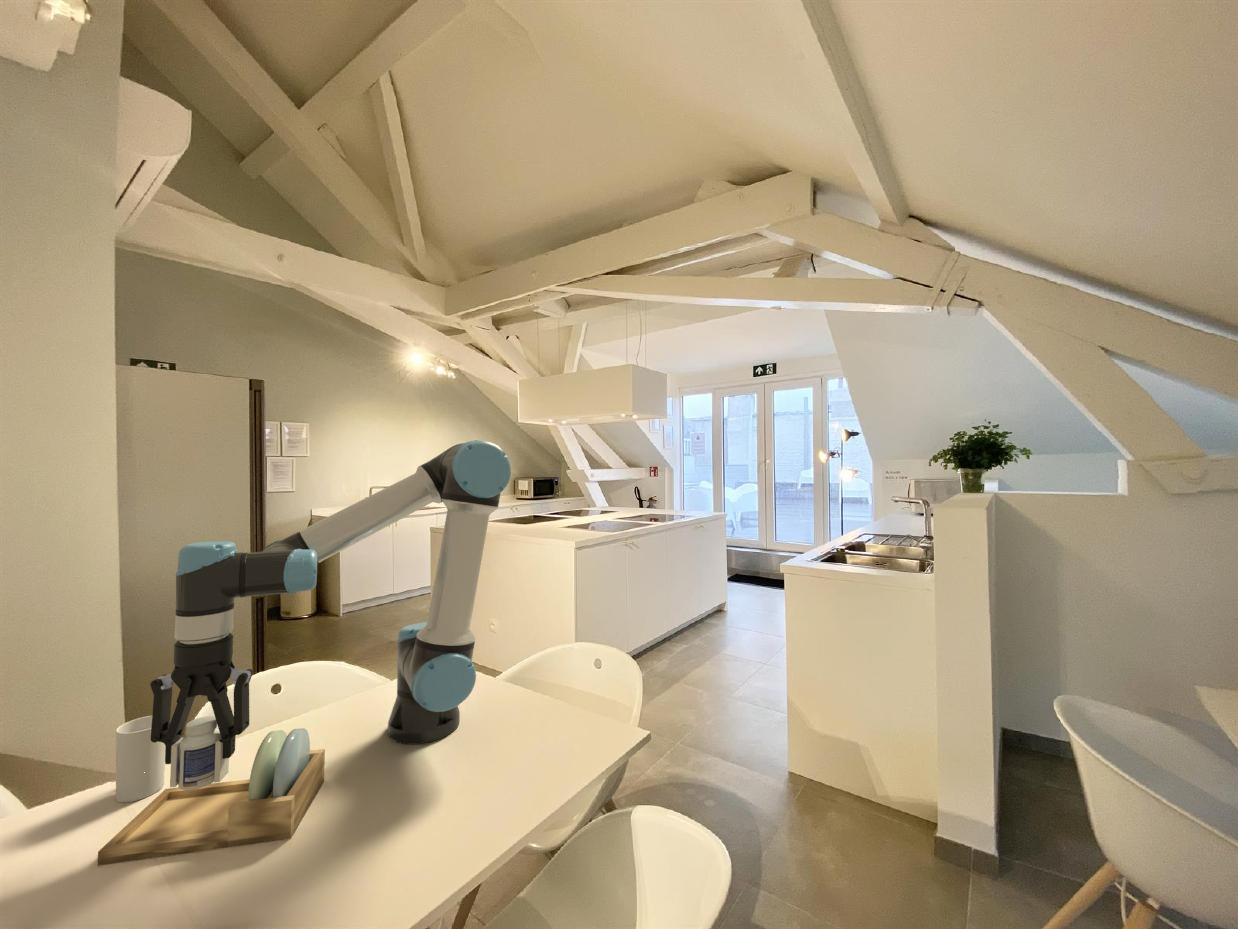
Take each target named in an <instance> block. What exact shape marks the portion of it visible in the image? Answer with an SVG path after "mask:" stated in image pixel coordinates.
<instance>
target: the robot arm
mask: <svg viewBox="0 0 1238 929" xmlns="http://www.w3.org/2000/svg"><path fill="white" fill-rule="evenodd" d="M511 475H512V465H511V461H510V460H509V457H508V455H507V454H506V452H505V451H504V450H503V449H502V448H501V447H500V446H498V445H497V444H495V443H493V442H490V441H486V440H477V439H476V440H470V441H466V442H463V443H458V444H455V445H453V446H450V447H449V448H448V449H446V450H444V451H442V452H441V453H440V454H438V455H437V456H435V457H433V458H432V459H430V460H428V461H426V462H425V463H423V464H421V465H418V466H417V468H416V471H415V473H413V474H411V475H408V476H407V477H405V478H403V479H401V480H399V481H397V482H394V483H393V484H391V485H388V486H387V487H385V488H382V489H381V490H379V491H377V492H375V493H372V494H371V495H369V496H367V497H365V498H363V499H361V500H359V501H357V502H355V503H353V504H351V505H349V506H347V507H345V508H343V509H341V510H339V511H337V512H335V513H333V514H331V515H328V516H327V517H325V518H323V519H321V520H319V521H317V522H315V523H313V524H311V525H309V526H306V527H305V528H303V529H301V530H299V531H297V532H296V533H294V534H293V533H292V534H291V535H289V536H287V537H285V538H283V539H280V540H276V541H274V542H272V543H270V544H268V545H266V546H265V547H264V548H263V549H262V550H261V551H253V552H242V551H241V552H239V551H238V549H237V545H236V543H234V542H233V541H229V540H227V541H225V540H224V541H222V540H221V541H219V540H216V541H199V542H193V543H187V544H186V545H183V546H182V547H181V548H180V549H179V551H178V556H177V557H178V559H177V568H176V573H175V576H176V577H175V578H176V579H175V581H176V582H175V619H174V636H173V638H174V639H175V640H177V641H176V642H175V643H174V645H173V664H174V668H173V670H172V671H171V673H169V674H162V675H160V676H159V677H157V678H155V679H153V680H152V681H151V682H150V684H149V685H150V688H151V691H152V694H153V702H152V703H153V704H152V714H151V716H152V727H151V741H152V742H154V743H155V742H162V743H164V744H165V765H170V778H169V780H170V781H169V788H177V786H178V775H179V746H180V742H181V740H182V739H183V738H184V737H185V736H183V735H184V734H185V732H184V731H185V728H186V724H187V720H188V719H189V716H190V712H191V708H192V706H193V704H194V701H195V698H196V697H197V696H203V697H205V696H206V698H207V701H208V702H209V703H210V704H211V707H212V711H213V714H214V715H213V716H215V718H216V722H217V729H219V732H220V735H221V737H220V738H219V739H218V740H217V741H216V743H215V774H214V782H213V783H221V781H222V780H223V779H224V778H225V777H226V776H227V774H228V773H229V766H230V765H229V764H230V758H231V757H232V756H233V755H234V753H235V752H236V736H239V735H241V734H242V733H244V731H246V729H247V728H248V727H250V682H251V680H252V676H253V674H254V671H253V669H251V668H247V669H246V670H243V669H238V668H236V666H235V664H234V663H233V652H234V634H232V633H231V632H233V630H234V612H235V598H249V597H260V596H271V595H282V594H283V595H284V594H291V595H295V594H297V593H300V592H301V593H302V592H309V591H312V590H314V589H315V588H316V586H317V579H318V578H317V576H318V565H319V564H320V563H321V562H324V561H326V560H327V559H328V558H331V557H332V556H334V555H336V554H338V553H339V552H342V551H344V550H346V549H348V548H349V547H351V546H353V545H355V544H358V543H359V542H361V541H362V540H364V539H366V538H368V537H370V536H372V535H374V534H376V533H377V532H380V531H381V530H383V529H385V528H387V527H388V526H390V525H392V524H395V523H397V522H399V521H400V520H402V519H404V518H406V517H408V516H409V515H411V514H413V513H415V512H417V511H419V510H421V509H422V508H425V507H426V506H428V505H431V504H432V503H434V504H435V503H436V504H443V505H444V506H445V507H446V515H445V516H446V517H445V521H444V526H443V527H444V528H443V534H442V539H441V544H440V547H439V548H440V550H439V555H438V559H437V564H436V571H435V574H434V575H435V578H434V581H433V586H432V593H431V598H430V603H429V608H428V614H427V618H426V622H425V621H424V622H418V623H412V624H409V625H406V626H403V627H402V628H400V630H399V631H398V635H397V641H396V644H397V666H396V667H397V673H396V674H397V676H396V677H397V678H396V679H397V680H396V682H397V683H396V684H397V685H396V698H395V700H394V701H395V702H394V704H393V707H392V710H391V713H390V716H389V719H388V722H387V736H388V738H389V739H390V740H392V741H394V742H396V743H399V744H406V745H416V744H425V743H430V742H433V741H437V740H440V739H442V738H444V737H447V736H448V735H450V734H451V733H453V732H454V731H456V729H458V727H459V725H460V719H461V718H460V717H461V716H460V712H461V711H460V708H459V706H460V704H462V702H464V701H466V699H468V697H470V694H471V693H472V691H473V690H474V688H475V685H476V679H477V674H476V673H477V670H476V666H475V664H474V662H473V661H472V660H473V655H474V649H475V642H476V636H475V635H474V634H473V632H472V631H471V629H470V627H471V623H472V618H473V617H472V616H473V611H474V606H475V605H474V604H475V598H476V594H477V593H476V592H477V587H478V581H479V576H480V571H481V565H482V558H483V554H484V548H485V544H486V543H485V542H486V537H487V531H488V524H489V519H490V516H491V514H493V513H494V512H495V511H496V510H498V508H499V505H500V499H501V494H502V492H503V491H504V490H505V489H506V487H507V486H508V484H509V482H510V480H511ZM230 678H232V685H234V686H233V709H232V706H231V703H230V700H229V697H228V691H229V690H228V686H227V681H229V679H230ZM174 684H175V685H176V686H177V687H178V688H179V693H178V696H177V699H176V706H175V708H174V712H173V714H172V713H171V712H172V699H173V698H172V697H173V686H174ZM171 714H172V717H171ZM182 736H183V737H182Z"/></svg>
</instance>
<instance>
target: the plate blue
mask: <svg viewBox="0 0 1238 929" xmlns="http://www.w3.org/2000/svg"><path fill="white" fill-rule="evenodd" d="M310 750H311V742H310V735H309V732H308V730H307V729H306V727H305V728H304V727H301V728H293V729H292V730H291V731H290V732H289V733H288V734H287V737H286V739H285V741H284V743H283V745H282V748H281V751H280V753H279V757H278V760H277V764H276V769H275V774H274V782H273V798H275V797H283V796H287V794H288V793H289V791H290V790H291V788H292V787H293V785H294V784H295V782H296V781H297V779H298V778H299V777H300V775H301V774H302V772H303V771H304V769H305V768H306V766H307V765H308V763H309V756H310Z"/></svg>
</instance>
